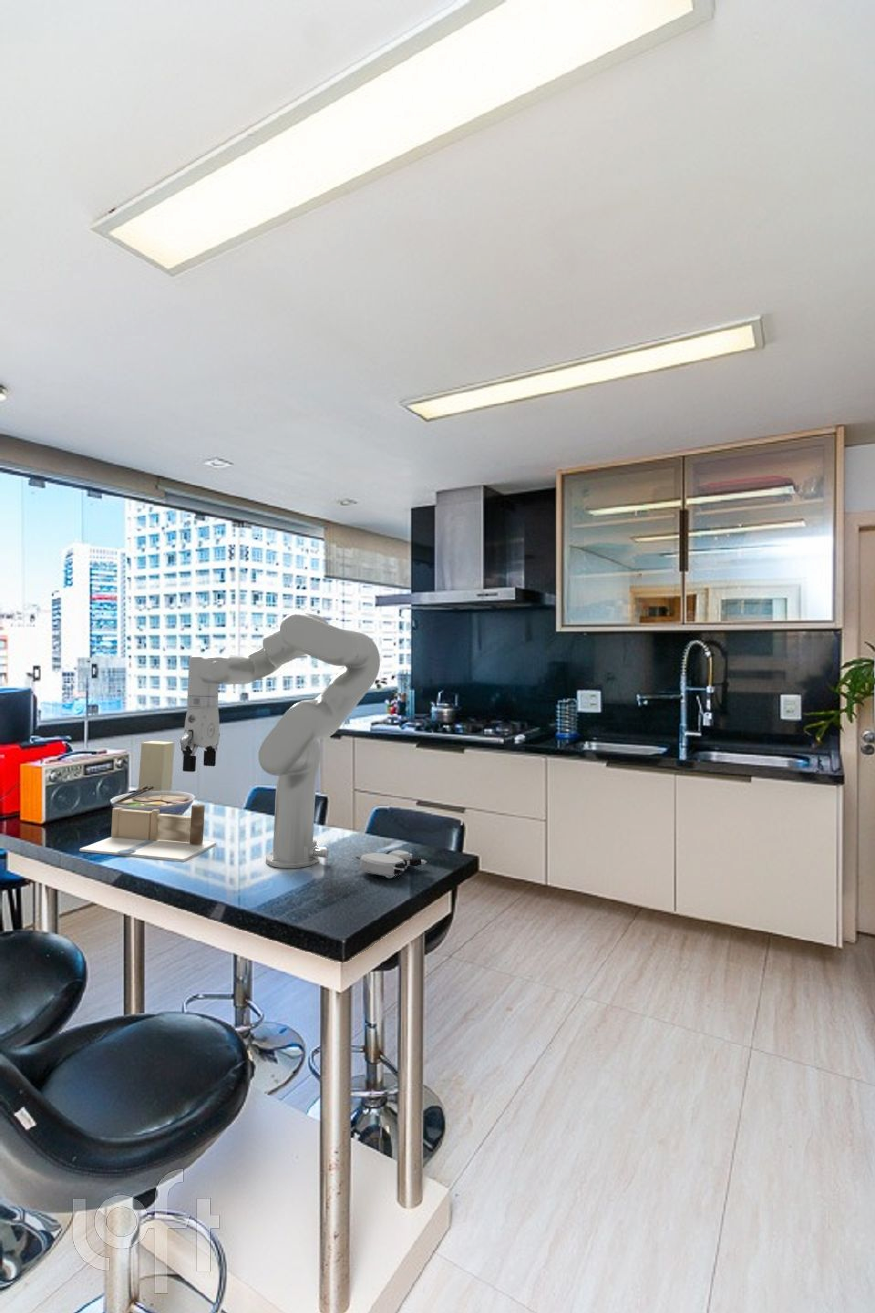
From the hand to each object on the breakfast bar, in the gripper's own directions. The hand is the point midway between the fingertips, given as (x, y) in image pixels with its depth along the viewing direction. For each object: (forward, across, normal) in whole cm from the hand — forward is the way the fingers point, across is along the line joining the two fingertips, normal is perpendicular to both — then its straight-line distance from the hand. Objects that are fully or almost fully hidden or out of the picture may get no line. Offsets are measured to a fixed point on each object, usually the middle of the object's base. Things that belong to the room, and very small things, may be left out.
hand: (199, 768), depth 159 cm
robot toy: (+21, -5, -53) cm, 57 cm away
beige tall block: (+20, +36, +36) cm, 55 cm away
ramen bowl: (+20, +17, +24) cm, 36 cm away
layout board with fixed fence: (+20, -5, +10) cm, 23 cm away
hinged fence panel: (+19, 0, +5) cm, 20 cm away
